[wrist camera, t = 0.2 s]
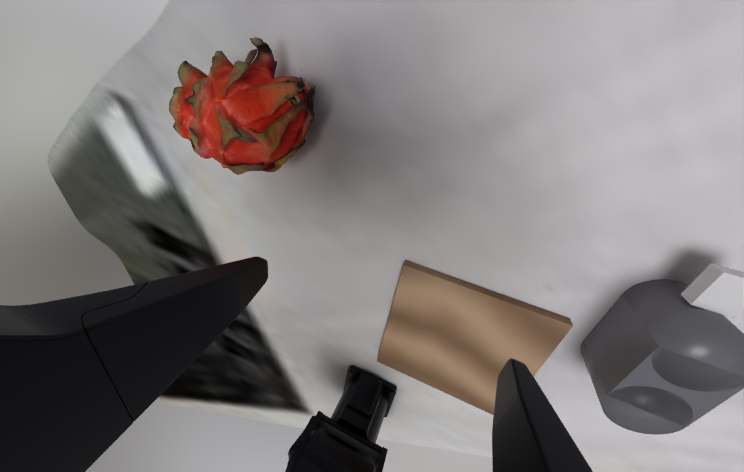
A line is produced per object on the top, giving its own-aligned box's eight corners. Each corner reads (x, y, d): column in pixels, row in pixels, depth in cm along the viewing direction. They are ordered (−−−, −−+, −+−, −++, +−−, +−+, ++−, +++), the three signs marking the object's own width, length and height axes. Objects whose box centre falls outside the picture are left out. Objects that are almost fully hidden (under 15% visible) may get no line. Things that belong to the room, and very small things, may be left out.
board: (500, 411, 29) (500, 418, 28) (378, 355, 32) (376, 361, 31) (570, 318, 22) (572, 325, 21) (405, 260, 25) (403, 264, 24)
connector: (628, 379, 22) (661, 443, 18) (570, 356, 23) (588, 412, 19) (752, 264, 16) (843, 320, 12) (667, 241, 17) (723, 285, 13)
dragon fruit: (235, 121, 27) (344, 90, 24) (228, 200, 25) (346, 179, 22) (144, 49, 19) (287, -11, 16) (123, 156, 18) (282, 113, 14)
